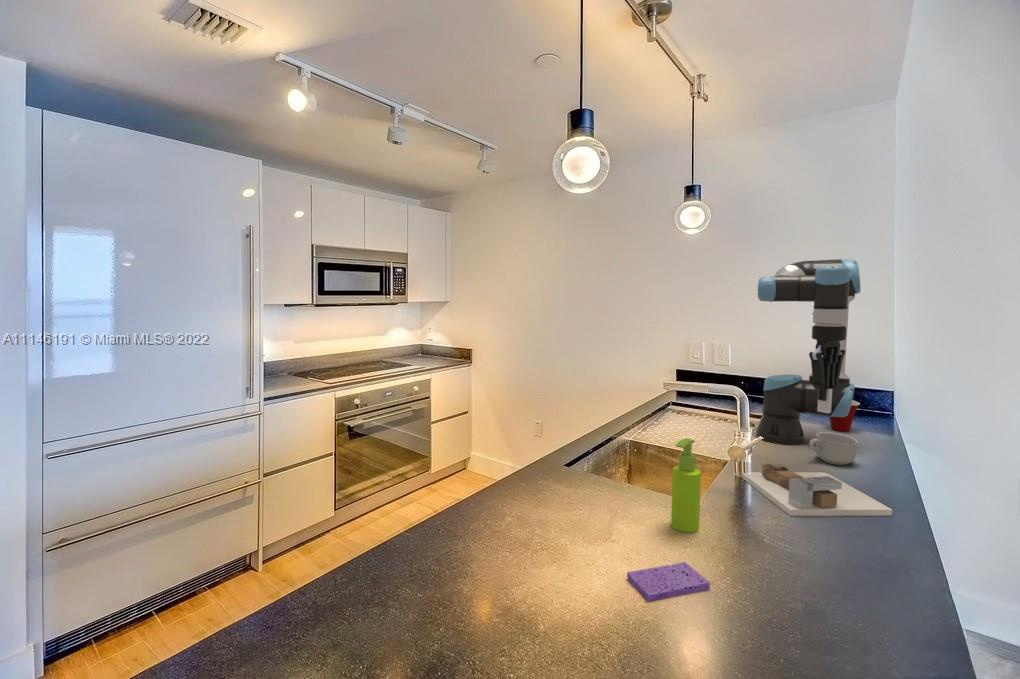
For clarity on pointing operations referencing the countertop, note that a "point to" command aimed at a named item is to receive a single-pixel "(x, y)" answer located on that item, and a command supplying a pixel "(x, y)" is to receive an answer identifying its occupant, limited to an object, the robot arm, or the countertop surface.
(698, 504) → the soap dispenser
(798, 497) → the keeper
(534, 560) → the countertop surface
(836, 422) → the plastic cup
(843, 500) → the base board
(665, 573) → the sponges
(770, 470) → the latch
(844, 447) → the teacup
